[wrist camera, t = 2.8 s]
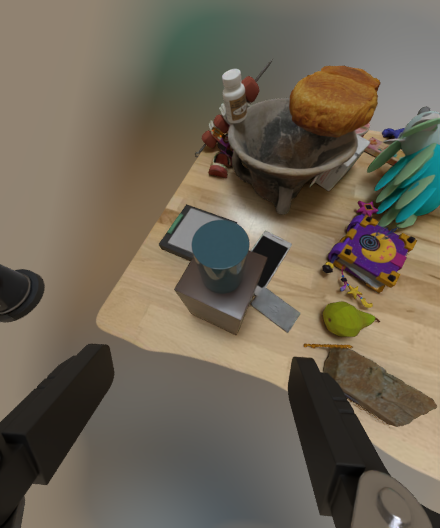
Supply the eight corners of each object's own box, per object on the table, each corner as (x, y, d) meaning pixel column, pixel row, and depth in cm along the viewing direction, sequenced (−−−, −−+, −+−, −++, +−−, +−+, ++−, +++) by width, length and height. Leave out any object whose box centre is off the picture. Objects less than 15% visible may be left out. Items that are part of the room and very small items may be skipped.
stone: (412, 395, 34) (441, 397, 30) (404, 436, 32) (435, 447, 27) (328, 345, 38) (342, 340, 34) (315, 378, 36) (329, 378, 31)
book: (306, 273, 44) (332, 244, 33) (355, 204, 52) (389, 161, 41) (373, 317, 40) (428, 299, 29) (416, 233, 48) (472, 194, 37)
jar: (192, 283, 28) (180, 255, 21) (212, 247, 31) (207, 212, 24) (233, 301, 27) (235, 278, 20) (250, 263, 30) (258, 230, 22)
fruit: (324, 294, 37) (375, 293, 40) (311, 317, 41) (359, 315, 44) (349, 321, 32) (405, 318, 35) (331, 346, 36) (384, 341, 39)
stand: (191, 313, 42) (173, 289, 28) (212, 272, 45) (206, 234, 32) (236, 335, 39) (241, 320, 26) (255, 290, 43) (267, 257, 30)
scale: (161, 248, 49) (157, 242, 46) (187, 209, 54) (185, 202, 51) (213, 270, 46) (213, 265, 43) (236, 227, 51) (237, 220, 48)
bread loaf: (283, 86, 35) (272, 129, 43) (371, 122, 32) (342, 162, 40) (319, 43, 39) (302, 91, 47) (400, 72, 36) (368, 118, 44)
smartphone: (230, 281, 45) (230, 279, 44) (264, 232, 50) (265, 229, 49) (259, 298, 43) (259, 297, 42) (291, 245, 48) (292, 243, 48)
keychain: (305, 345, 39) (304, 349, 38) (303, 341, 38) (302, 345, 38) (353, 346, 34) (353, 351, 33) (351, 342, 34) (351, 346, 33)
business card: (301, 312, 41) (301, 311, 40) (288, 333, 39) (289, 333, 39) (262, 286, 44) (263, 285, 43) (249, 305, 42) (249, 304, 41)
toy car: (225, 131, 50) (215, 149, 52) (250, 151, 59) (240, 166, 61) (212, 122, 52) (203, 140, 54) (238, 143, 62) (229, 157, 64)
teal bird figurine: (528, 78, 35) (432, 79, 34) (487, 228, 41) (405, 233, 40) (438, 115, 49) (368, 117, 48) (418, 224, 55) (355, 228, 54)
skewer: (200, 156, 68) (275, 63, 51) (203, 165, 66) (282, 71, 49) (188, 147, 64) (263, 44, 48) (190, 156, 62) (270, 52, 46)
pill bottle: (236, 126, 43) (230, 83, 37) (223, 120, 45) (215, 77, 39) (251, 115, 44) (248, 70, 37) (238, 108, 46) (232, 65, 39)
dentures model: (206, 164, 55) (215, 146, 58) (206, 177, 59) (215, 159, 62) (225, 169, 54) (234, 150, 58) (225, 181, 58) (233, 163, 61)
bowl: (287, 141, 64) (303, 82, 51) (349, 196, 54) (389, 140, 40) (211, 172, 59) (207, 116, 46) (262, 239, 49) (276, 191, 35)
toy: (364, 143, 60) (373, 135, 61) (360, 149, 61) (369, 141, 63) (405, 163, 56) (413, 154, 57) (400, 169, 57) (408, 160, 59)
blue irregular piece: (378, 132, 65) (384, 124, 63) (391, 129, 65) (397, 120, 63) (398, 150, 61) (405, 142, 59) (412, 147, 61) (419, 138, 59)
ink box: (350, 169, 58) (322, 199, 54) (335, 160, 60) (307, 188, 55) (371, 141, 51) (342, 173, 46) (354, 131, 52) (323, 162, 47)
